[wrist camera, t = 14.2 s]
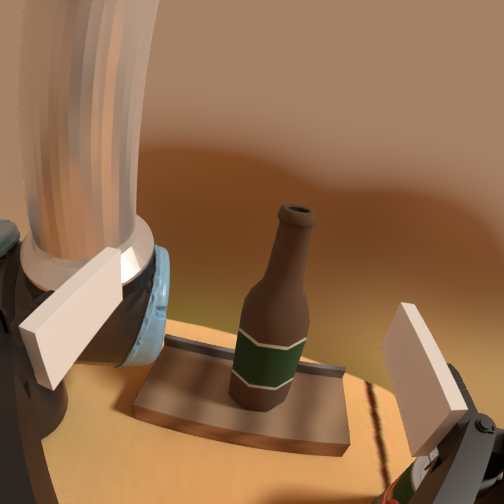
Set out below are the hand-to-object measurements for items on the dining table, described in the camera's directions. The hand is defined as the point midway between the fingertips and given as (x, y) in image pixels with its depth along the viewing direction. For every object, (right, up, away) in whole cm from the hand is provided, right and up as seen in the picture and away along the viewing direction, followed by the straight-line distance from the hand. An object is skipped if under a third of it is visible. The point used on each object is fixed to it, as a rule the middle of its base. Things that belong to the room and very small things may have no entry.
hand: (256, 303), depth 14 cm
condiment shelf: (-1, -18, +25) cm, 31 cm away
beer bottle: (0, -16, +25) cm, 29 cm away
